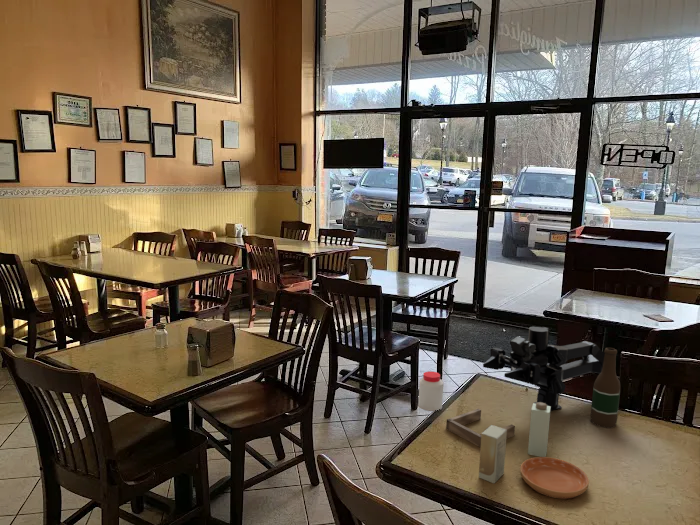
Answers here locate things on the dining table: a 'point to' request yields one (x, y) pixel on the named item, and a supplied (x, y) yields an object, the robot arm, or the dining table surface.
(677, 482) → the dining table surface
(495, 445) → the skincare box
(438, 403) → the pill bottle
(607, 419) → the beer bottle
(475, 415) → the box
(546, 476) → the saucer
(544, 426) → the block
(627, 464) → the dining table surface
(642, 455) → the dining table surface
